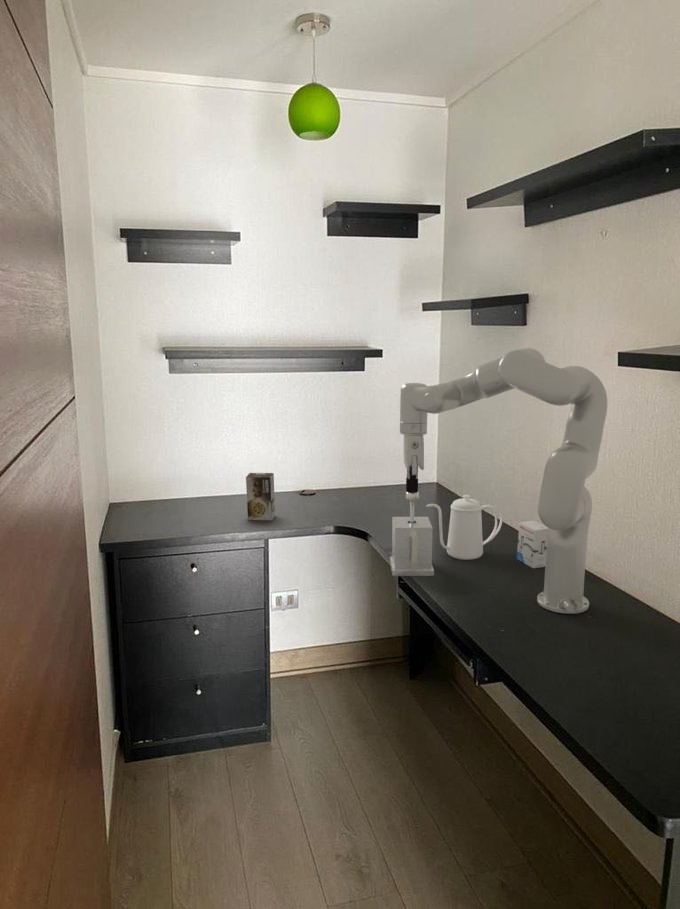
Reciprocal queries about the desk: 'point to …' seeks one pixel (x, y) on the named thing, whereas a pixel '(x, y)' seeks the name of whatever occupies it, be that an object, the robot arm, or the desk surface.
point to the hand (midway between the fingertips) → (411, 491)
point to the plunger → (412, 503)
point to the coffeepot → (466, 528)
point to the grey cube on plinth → (411, 547)
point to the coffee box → (260, 496)
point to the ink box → (532, 544)
